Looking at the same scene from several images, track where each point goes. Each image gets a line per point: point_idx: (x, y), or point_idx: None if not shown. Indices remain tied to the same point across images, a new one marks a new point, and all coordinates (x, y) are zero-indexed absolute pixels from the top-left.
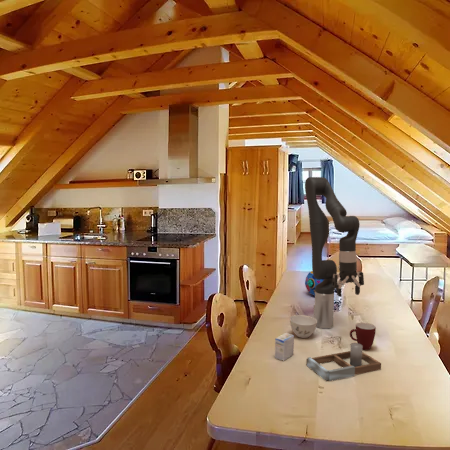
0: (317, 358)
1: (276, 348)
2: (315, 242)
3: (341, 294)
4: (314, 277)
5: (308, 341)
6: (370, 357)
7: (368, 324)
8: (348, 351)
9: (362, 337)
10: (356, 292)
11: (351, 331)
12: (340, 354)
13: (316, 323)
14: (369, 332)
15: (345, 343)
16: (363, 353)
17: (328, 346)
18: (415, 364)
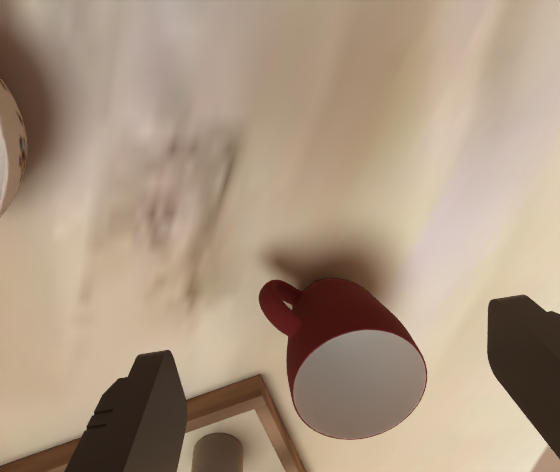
0: None
1: None
2: None
3: (181, 447)
4: None
5: (4, 220)
6: (288, 463)
7: (404, 336)
8: (202, 417)
9: (308, 385)
10: (510, 356)
11: (268, 319)
12: None
13: (6, 200)
14: (352, 424)
15: (240, 244)
16: (271, 431)
17: (127, 286)
18: (469, 432)
